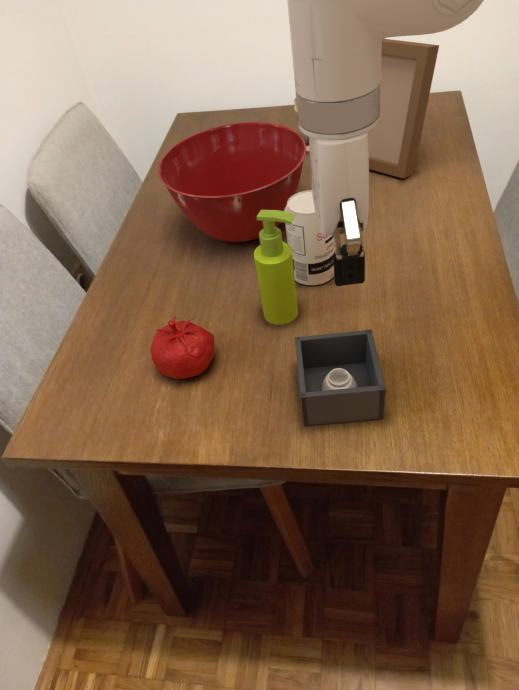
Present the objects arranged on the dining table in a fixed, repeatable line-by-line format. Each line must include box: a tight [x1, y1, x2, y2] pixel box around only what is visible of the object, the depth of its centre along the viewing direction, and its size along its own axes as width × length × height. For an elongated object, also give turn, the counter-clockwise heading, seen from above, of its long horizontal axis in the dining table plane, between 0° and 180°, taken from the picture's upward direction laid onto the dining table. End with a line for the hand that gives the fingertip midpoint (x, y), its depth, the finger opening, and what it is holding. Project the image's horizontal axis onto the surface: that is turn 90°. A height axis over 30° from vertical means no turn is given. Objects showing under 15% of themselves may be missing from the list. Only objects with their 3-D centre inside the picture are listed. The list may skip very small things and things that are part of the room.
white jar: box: [322, 368, 357, 391], centre depth 75 cm, size 5×3×5 cm
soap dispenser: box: [253, 210, 299, 326], centre depth 82 cm, size 6×7×20 cm
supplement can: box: [284, 189, 336, 286], centre depth 91 cm, size 8×8×15 cm
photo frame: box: [368, 38, 440, 179], centre depth 113 cm, size 15×22×25 cm
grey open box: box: [294, 329, 387, 428], centre depth 74 cm, size 7×11×11 cm
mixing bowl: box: [157, 121, 307, 243], centre depth 105 cm, size 28×28×15 cm
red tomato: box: [150, 315, 216, 380], centre depth 81 cm, size 10×10×9 cm
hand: (343, 255), depth 60 cm, fingers open, 9 cm apart
